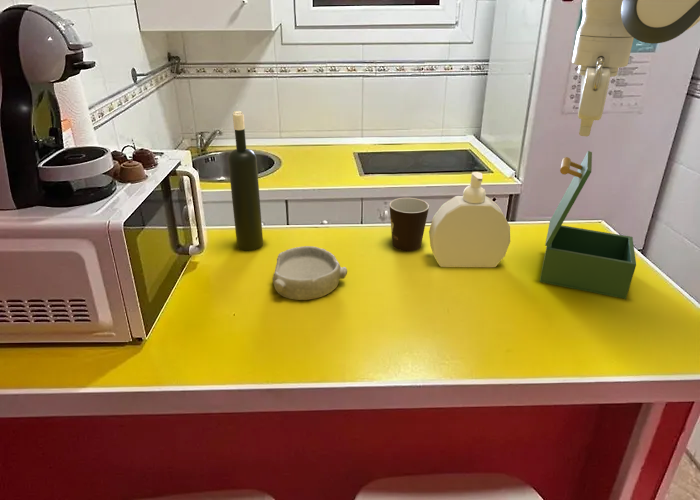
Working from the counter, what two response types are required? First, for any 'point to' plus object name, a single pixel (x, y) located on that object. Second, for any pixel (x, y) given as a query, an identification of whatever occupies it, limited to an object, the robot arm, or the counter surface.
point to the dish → (307, 273)
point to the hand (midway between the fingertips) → (584, 134)
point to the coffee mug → (408, 222)
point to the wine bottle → (245, 190)
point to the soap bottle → (469, 229)
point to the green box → (590, 261)
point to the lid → (569, 192)
